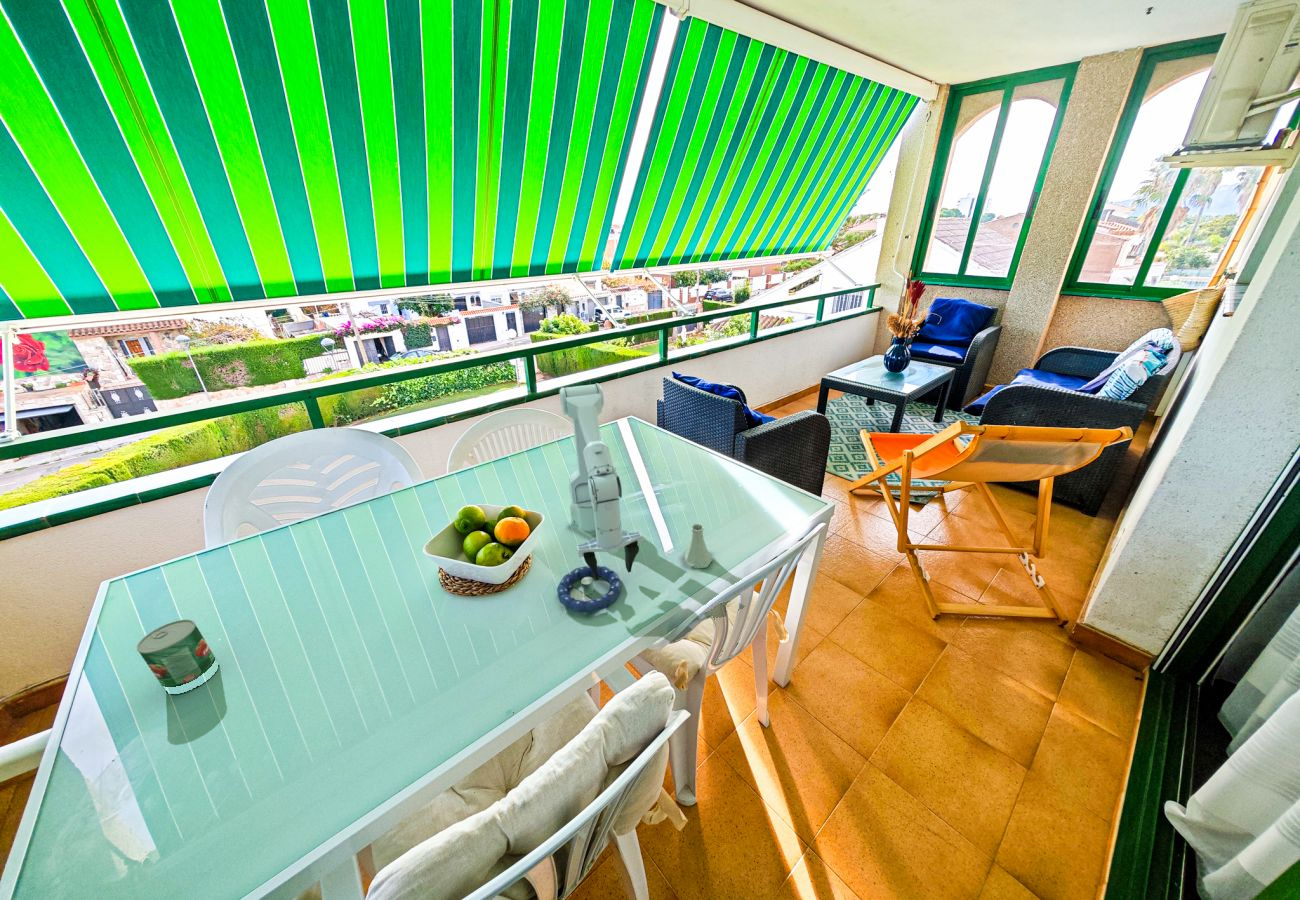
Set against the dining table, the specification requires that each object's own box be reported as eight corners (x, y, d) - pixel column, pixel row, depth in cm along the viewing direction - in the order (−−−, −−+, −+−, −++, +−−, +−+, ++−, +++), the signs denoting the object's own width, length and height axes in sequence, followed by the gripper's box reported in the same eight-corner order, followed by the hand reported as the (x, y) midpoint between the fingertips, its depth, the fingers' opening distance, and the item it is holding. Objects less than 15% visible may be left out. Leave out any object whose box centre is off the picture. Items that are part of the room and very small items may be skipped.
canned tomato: (229, 663, 92) (205, 622, 87) (185, 698, 85) (157, 655, 80) (199, 657, 94) (175, 616, 89) (154, 691, 87) (124, 648, 82)
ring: (545, 594, 105) (544, 586, 104) (592, 563, 115) (591, 555, 114) (587, 625, 96) (585, 616, 95) (633, 588, 106) (633, 580, 105)
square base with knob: (561, 596, 106) (559, 582, 104) (590, 576, 112) (588, 562, 110) (586, 615, 100) (585, 600, 99) (616, 592, 106) (614, 578, 105)
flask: (710, 570, 112) (711, 536, 108) (681, 567, 114) (680, 534, 110) (712, 552, 119) (713, 520, 115) (685, 550, 120) (684, 517, 116)
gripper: (578, 541, 95) (584, 592, 100) (645, 526, 99) (647, 576, 104) (572, 523, 101) (579, 572, 107) (635, 510, 105) (638, 558, 111)
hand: (612, 573), depth 106 cm, fingers open, 7 cm apart
